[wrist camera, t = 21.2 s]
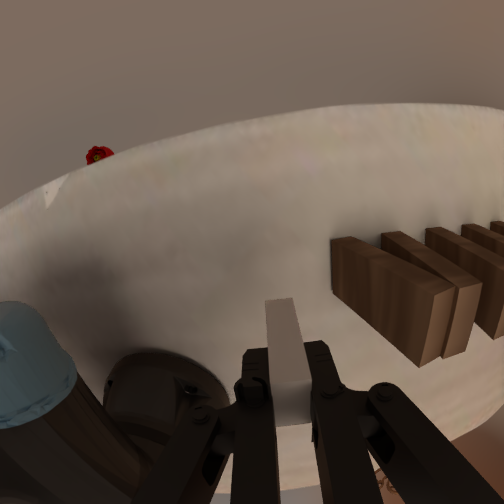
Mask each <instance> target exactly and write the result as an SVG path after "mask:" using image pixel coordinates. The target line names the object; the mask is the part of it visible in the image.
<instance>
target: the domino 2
mask: <svg viewBox="0 0 504 504" xmlns="http://www.w3.org/2000/svg"><path fill="white" fill-rule="evenodd" d="M381 250H383V251H385V252H387V253H389V254H392V255H394V256H396V257H398V258H400V259H402V260H404V261H407V262H409V263H411V264H413V265H415V266H417V267H419V268H421V269H423V270H425V271H427V272H430V273H432V274H434V275H436V276H438V277H440V278H442V279H444V280H446V281H448V282H450V283H452V284H454V285H456V289H455V295H454V300H453V305H452V310H451V315H450V320H449V324H448V328H447V332H446V336H445V340H444V344H443V347H442V351H441V354H440V356H441V358H442V359H445V358H448V357H451V356H453V355H456V354H459V353H462V352H465V350H466V347H467V344H468V340H469V337H470V334H471V330H472V326H473V323H474V319H475V315H476V311H477V307H478V303H479V298H480V293H481V288H482V282H481V281H479V280H478V279H477V278H475V277H474V276H472V275H471V274H469V273H468V272H466V271H465V270H463V269H462V268H460V267H459V266H457V265H455V264H454V263H452V262H451V261H449V260H448V259H446V258H444V257H443V256H441V255H440V254H438V253H436V252H435V251H433V250H431V249H430V248H428V247H427V246H425V245H423V244H421V243H420V242H418V241H416V240H415V239H413V238H411V237H410V236H408V235H406V234H404V233H403V232H401V231H397V232H388V233H381Z"/></svg>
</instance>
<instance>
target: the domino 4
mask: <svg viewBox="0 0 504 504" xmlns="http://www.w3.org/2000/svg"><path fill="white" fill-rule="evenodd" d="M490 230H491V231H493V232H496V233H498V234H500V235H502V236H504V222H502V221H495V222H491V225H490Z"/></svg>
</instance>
